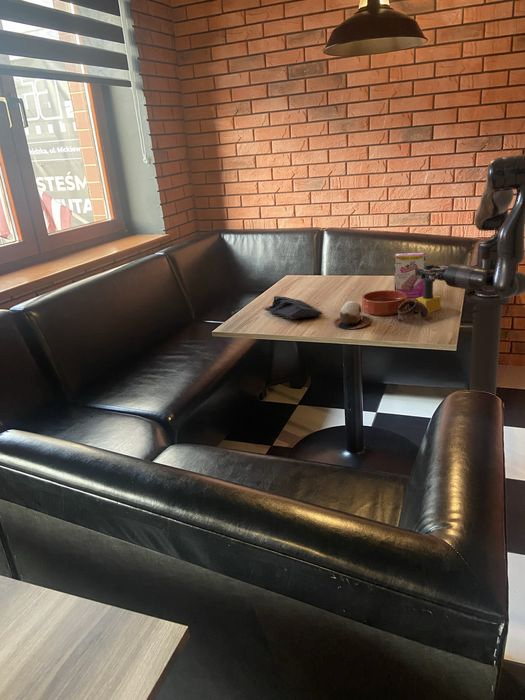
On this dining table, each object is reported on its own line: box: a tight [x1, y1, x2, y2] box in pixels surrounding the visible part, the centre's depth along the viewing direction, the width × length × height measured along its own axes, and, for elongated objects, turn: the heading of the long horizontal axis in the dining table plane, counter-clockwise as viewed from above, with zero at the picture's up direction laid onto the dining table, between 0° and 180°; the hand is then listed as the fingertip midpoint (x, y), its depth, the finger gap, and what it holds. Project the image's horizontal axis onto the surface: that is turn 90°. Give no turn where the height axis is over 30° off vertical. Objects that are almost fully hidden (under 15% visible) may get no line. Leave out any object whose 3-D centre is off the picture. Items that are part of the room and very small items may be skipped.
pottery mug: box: [397, 298, 430, 322], centre depth 177 cm, size 12×10×8 cm
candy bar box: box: [393, 252, 426, 299], centre depth 200 cm, size 11×5×16 cm, turn 74°
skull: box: [334, 300, 372, 330], centre depth 179 cm, size 12×10×10 cm
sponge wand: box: [415, 263, 442, 314], centre depth 183 cm, size 7×5×16 cm
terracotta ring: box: [361, 289, 408, 316], centre depth 190 cm, size 16×16×5 cm
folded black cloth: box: [264, 295, 323, 320], centre depth 196 cm, size 15×22×5 cm
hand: (422, 269), depth 183 cm, fingers open, 6 cm apart
